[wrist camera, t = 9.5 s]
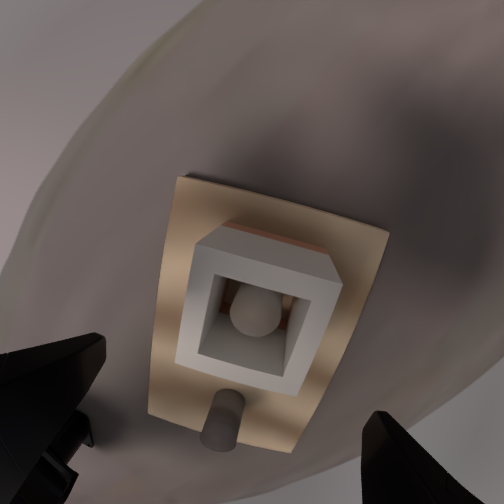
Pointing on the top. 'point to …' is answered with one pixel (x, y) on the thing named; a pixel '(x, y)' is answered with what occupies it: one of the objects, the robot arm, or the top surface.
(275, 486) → the top surface
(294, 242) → the sleeve
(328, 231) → the pin board
